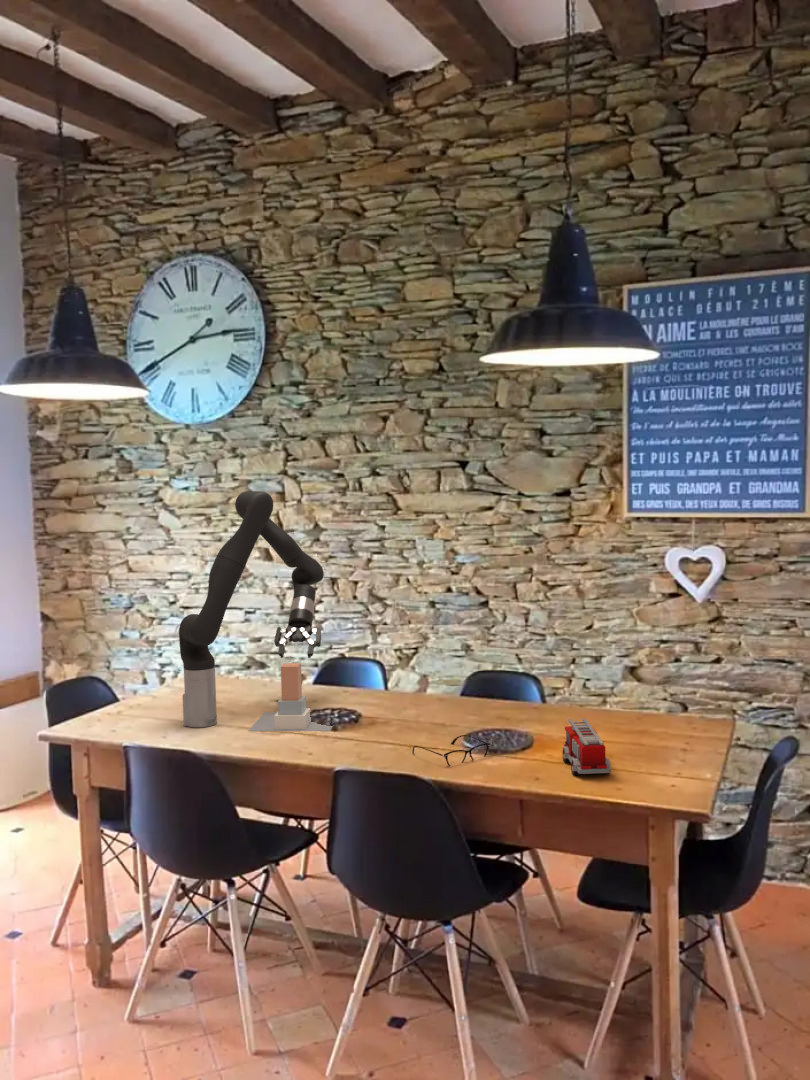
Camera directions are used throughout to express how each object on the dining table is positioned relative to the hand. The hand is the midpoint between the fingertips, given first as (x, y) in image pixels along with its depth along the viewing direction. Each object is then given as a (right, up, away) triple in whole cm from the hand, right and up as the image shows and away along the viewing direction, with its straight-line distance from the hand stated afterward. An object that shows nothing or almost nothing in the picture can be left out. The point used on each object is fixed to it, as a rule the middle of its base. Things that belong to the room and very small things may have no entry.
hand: (295, 656), depth 286 cm
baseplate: (+1, -19, -6) cm, 20 cm away
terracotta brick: (0, -11, -12) cm, 16 cm away
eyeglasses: (+45, -21, -42) cm, 65 cm away
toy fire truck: (+78, -21, -55) cm, 98 cm away
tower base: (+1, -19, -11) cm, 22 cm away
